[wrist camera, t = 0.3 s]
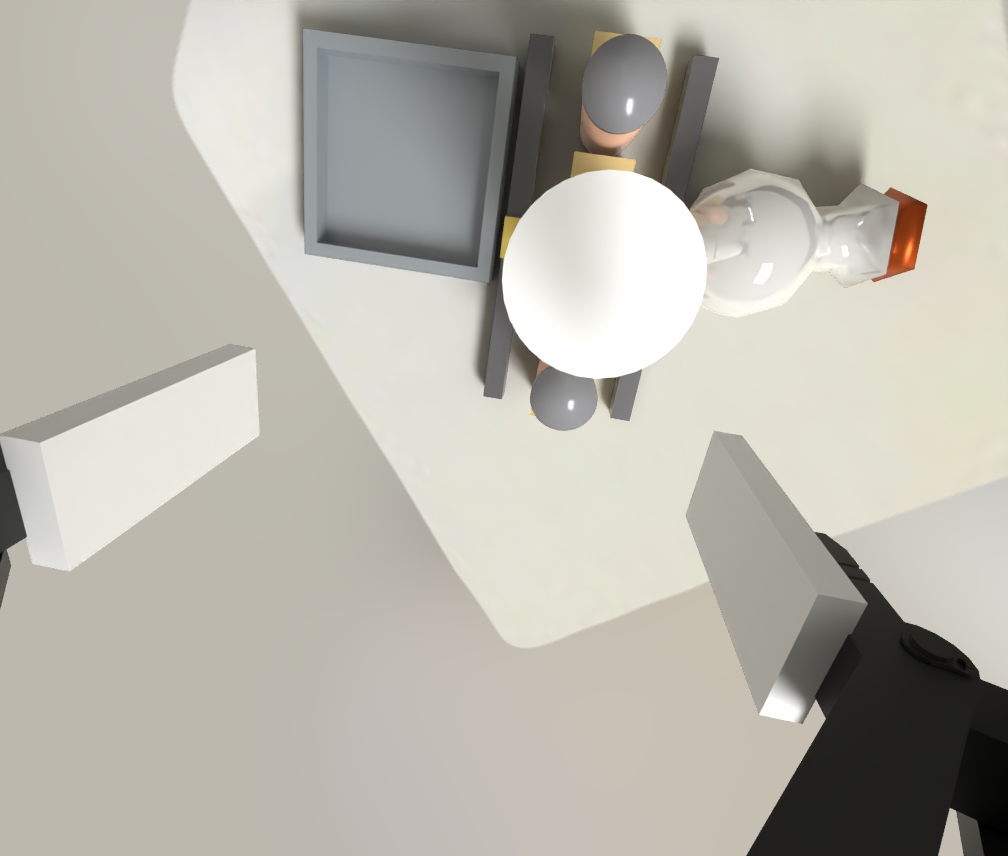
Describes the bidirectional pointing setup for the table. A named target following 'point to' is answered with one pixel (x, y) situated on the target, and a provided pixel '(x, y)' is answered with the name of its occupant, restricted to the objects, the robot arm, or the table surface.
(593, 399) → the fuse
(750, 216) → the potion bottle
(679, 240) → the cylindrical container
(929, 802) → the robot arm
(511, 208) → the fuse holder
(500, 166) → the tray
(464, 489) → the table surface
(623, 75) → the cylinder
